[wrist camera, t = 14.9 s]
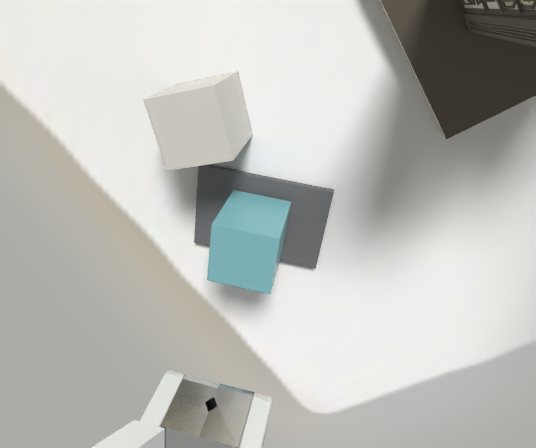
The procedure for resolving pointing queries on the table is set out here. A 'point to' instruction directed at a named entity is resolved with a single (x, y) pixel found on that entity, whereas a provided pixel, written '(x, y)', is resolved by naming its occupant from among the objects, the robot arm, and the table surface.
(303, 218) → the stand
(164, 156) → the light grey block
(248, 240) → the teal block
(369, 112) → the table surface
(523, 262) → the table surface
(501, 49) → the building model
